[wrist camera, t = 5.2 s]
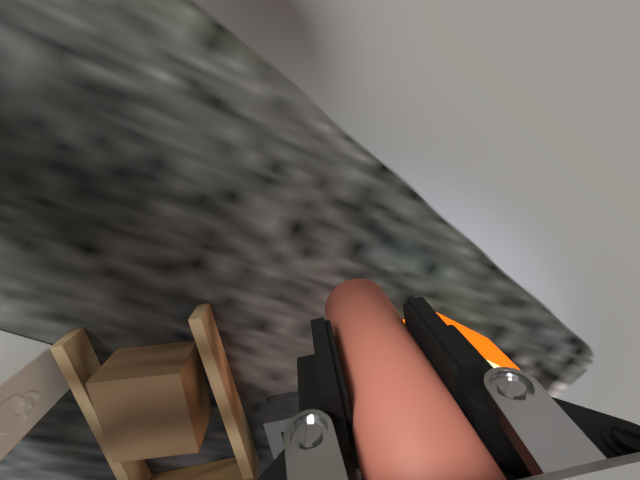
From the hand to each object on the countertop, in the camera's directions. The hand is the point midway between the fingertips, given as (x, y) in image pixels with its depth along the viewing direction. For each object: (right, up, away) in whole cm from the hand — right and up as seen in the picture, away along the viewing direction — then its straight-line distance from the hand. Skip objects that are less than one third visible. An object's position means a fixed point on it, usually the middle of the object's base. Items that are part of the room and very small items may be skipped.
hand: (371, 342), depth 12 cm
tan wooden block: (-16, -9, +17) cm, 25 cm away
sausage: (0, +1, +3) cm, 3 cm away
